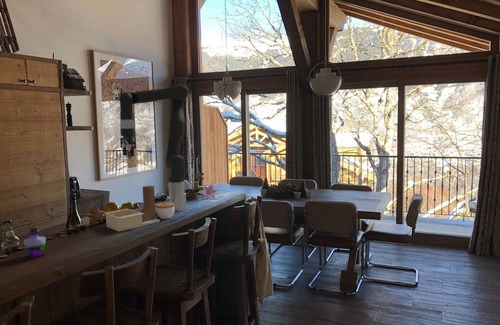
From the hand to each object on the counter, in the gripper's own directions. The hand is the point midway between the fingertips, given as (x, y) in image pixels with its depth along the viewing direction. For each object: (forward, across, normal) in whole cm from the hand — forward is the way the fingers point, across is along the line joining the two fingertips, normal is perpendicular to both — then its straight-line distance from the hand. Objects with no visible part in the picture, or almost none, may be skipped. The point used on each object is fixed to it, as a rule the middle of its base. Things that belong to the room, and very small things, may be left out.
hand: (128, 155), depth 230 cm
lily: (+34, 0, -58) cm, 68 cm away
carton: (+34, -24, +17) cm, 45 cm away
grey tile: (+34, -24, +4) cm, 42 cm away
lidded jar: (+34, -24, -8) cm, 43 cm away
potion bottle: (+34, -39, +63) cm, 82 cm away
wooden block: (+33, -24, +4) cm, 41 cm away
